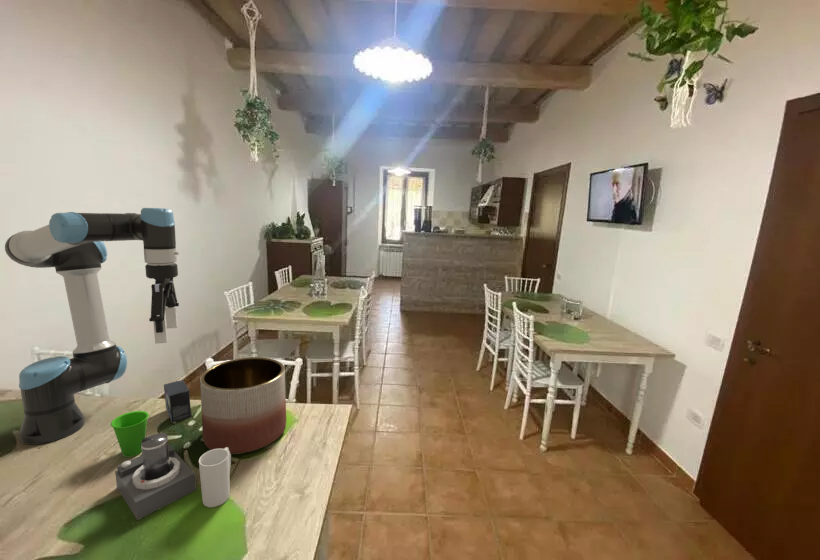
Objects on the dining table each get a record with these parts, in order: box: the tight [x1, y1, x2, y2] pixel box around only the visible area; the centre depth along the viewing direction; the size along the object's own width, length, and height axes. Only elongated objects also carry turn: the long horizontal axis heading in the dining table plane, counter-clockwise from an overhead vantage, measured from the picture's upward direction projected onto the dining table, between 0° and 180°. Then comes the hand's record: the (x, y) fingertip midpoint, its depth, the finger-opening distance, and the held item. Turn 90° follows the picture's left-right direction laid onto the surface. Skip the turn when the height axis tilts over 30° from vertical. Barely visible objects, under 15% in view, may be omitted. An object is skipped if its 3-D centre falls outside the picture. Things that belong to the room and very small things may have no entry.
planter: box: [199, 356, 287, 455], centre depth 120 cm, size 25×25×22 cm
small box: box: [163, 379, 192, 423], centre depth 130 cm, size 11×6×10 cm, turn 43°
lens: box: [141, 432, 170, 481], centre depth 94 cm, size 6×6×10 cm
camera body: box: [114, 443, 197, 521], centre depth 95 cm, size 16×13×7 cm
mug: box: [198, 447, 232, 508], centre depth 95 cm, size 10×7×12 cm, turn 174°
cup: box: [110, 410, 150, 458], centre depth 109 cm, size 9×9×11 cm
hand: (167, 335), depth 106 cm, fingers open, 13 cm apart
